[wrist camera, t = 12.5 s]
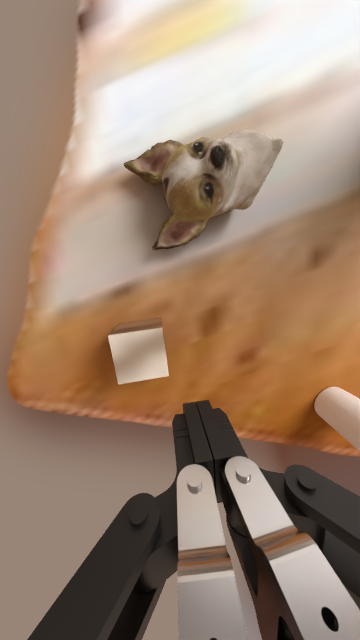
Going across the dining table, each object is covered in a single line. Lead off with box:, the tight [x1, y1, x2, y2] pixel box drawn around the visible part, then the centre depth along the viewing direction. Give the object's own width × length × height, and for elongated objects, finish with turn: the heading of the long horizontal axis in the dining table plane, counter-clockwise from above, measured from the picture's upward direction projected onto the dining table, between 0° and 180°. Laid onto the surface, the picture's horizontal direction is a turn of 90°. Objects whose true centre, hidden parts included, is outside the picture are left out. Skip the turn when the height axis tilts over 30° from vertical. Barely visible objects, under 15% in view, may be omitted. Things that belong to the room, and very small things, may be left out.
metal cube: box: [108, 318, 169, 385], centre depth 24 cm, size 6×6×6 cm
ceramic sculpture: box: [124, 130, 283, 250], centre depth 20 cm, size 11×9×15 cm
